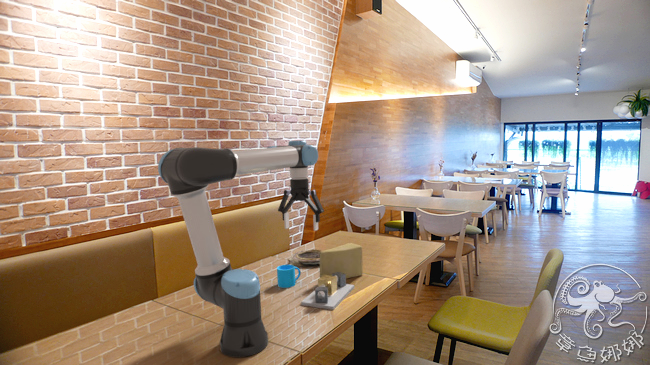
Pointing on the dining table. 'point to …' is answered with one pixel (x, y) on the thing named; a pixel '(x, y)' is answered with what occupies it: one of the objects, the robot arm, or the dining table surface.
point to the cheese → (342, 260)
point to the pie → (306, 258)
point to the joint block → (329, 283)
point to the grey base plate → (329, 298)
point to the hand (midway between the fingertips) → (301, 229)
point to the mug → (287, 275)
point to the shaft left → (321, 294)
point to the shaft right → (340, 279)
